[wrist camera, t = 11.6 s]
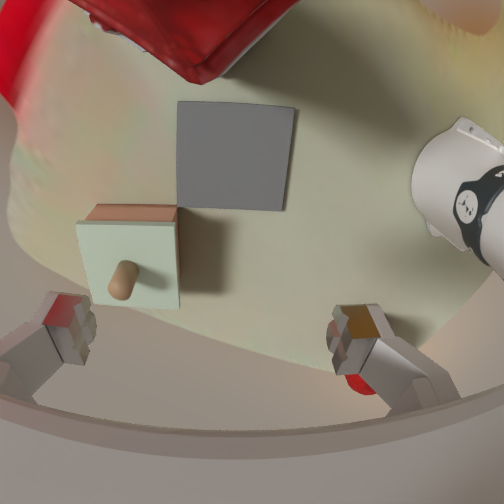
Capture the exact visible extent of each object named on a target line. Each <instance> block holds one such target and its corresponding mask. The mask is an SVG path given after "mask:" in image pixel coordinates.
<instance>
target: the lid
mask: <svg viewBox="0 0 504 504" xmlns="http://www.w3.org/2000/svg"><path fill="white" fill-rule="evenodd" d="M75 228H76V233H77V238H78V243H79V247H80V252H81V256H82V260H83V264H84V268H85V272H86V276H87V280H88V284H89V288H90V291H91V295H92V298H93V302H94V304H102V305H114V306H127V307H141V308H157V309H175V310H180V293H179V279H178V264H177V246H176V223H175V222H148V221H87V220H78V221H77V222H76V224H75Z"/></svg>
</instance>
